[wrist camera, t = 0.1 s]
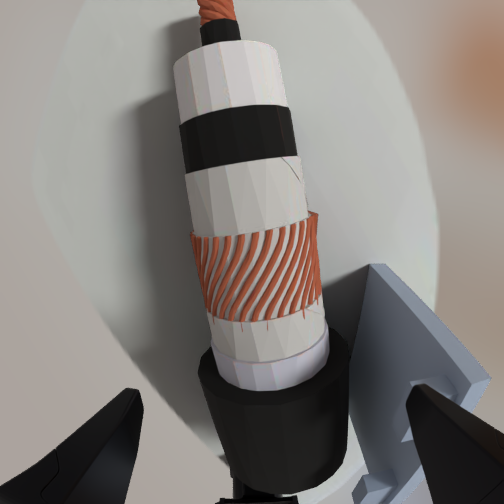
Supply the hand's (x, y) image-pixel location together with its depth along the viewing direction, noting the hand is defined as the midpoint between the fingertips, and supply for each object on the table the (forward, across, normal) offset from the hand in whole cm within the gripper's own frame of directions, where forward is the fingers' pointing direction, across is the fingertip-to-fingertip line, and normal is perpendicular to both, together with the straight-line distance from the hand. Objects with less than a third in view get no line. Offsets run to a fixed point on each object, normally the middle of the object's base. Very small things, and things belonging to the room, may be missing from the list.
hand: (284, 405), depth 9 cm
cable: (+15, 0, -1) cm, 15 cm away
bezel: (+15, -9, +8) cm, 19 cm away
